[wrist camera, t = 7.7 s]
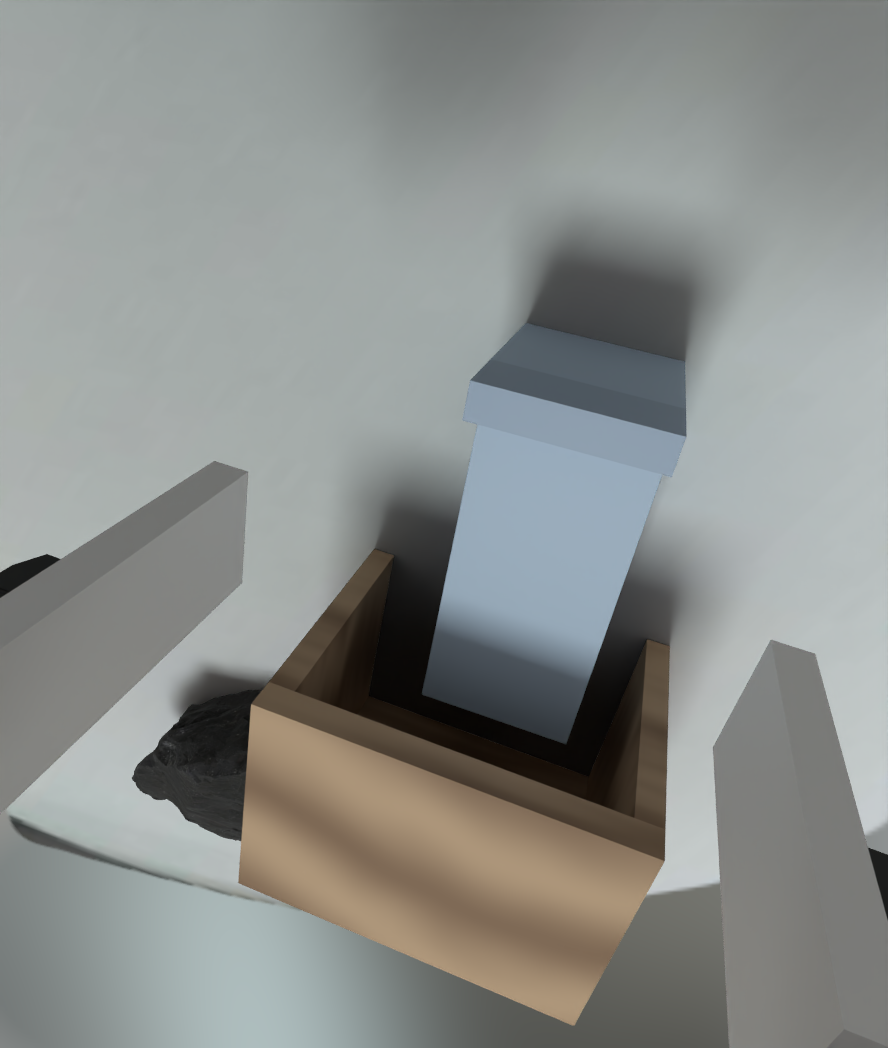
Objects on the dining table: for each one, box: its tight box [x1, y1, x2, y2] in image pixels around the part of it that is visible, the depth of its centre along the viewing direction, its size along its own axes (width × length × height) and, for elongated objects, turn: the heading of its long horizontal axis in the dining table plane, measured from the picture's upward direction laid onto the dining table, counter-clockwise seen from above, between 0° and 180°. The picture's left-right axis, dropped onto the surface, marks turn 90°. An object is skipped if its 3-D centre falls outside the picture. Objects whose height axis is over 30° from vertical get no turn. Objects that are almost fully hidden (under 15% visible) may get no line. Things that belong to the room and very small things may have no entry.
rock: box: [132, 690, 261, 841], centre depth 39 cm, size 10×9×6 cm
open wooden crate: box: [238, 549, 670, 1026], centre depth 30 cm, size 10×14×11 cm
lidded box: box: [422, 323, 686, 744], centre depth 26 cm, size 14×6×8 cm, turn 170°
